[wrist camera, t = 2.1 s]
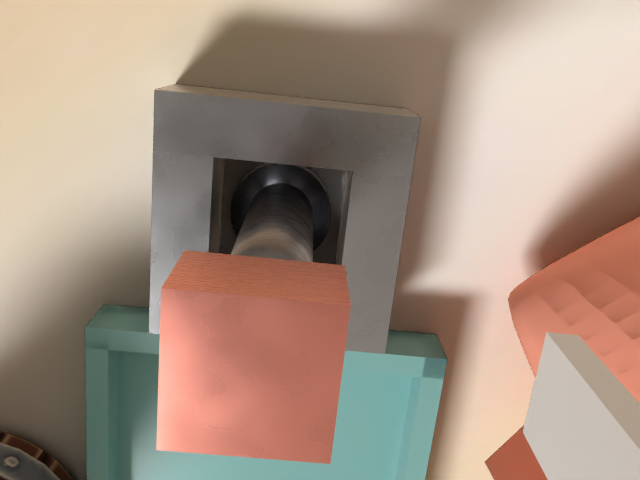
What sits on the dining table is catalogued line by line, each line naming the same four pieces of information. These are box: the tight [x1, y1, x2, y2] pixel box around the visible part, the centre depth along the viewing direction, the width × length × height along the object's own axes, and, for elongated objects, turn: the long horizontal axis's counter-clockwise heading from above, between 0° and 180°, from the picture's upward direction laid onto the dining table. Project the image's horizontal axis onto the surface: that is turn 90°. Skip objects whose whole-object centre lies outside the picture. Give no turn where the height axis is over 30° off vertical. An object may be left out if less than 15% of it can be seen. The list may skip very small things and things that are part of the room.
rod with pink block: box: [156, 163, 351, 464], centre depth 21 cm, size 4×4×15 cm
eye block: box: [149, 84, 421, 354], centre depth 26 cm, size 10×10×4 cm
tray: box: [85, 304, 447, 480], centre depth 30 cm, size 16×13×2 cm
